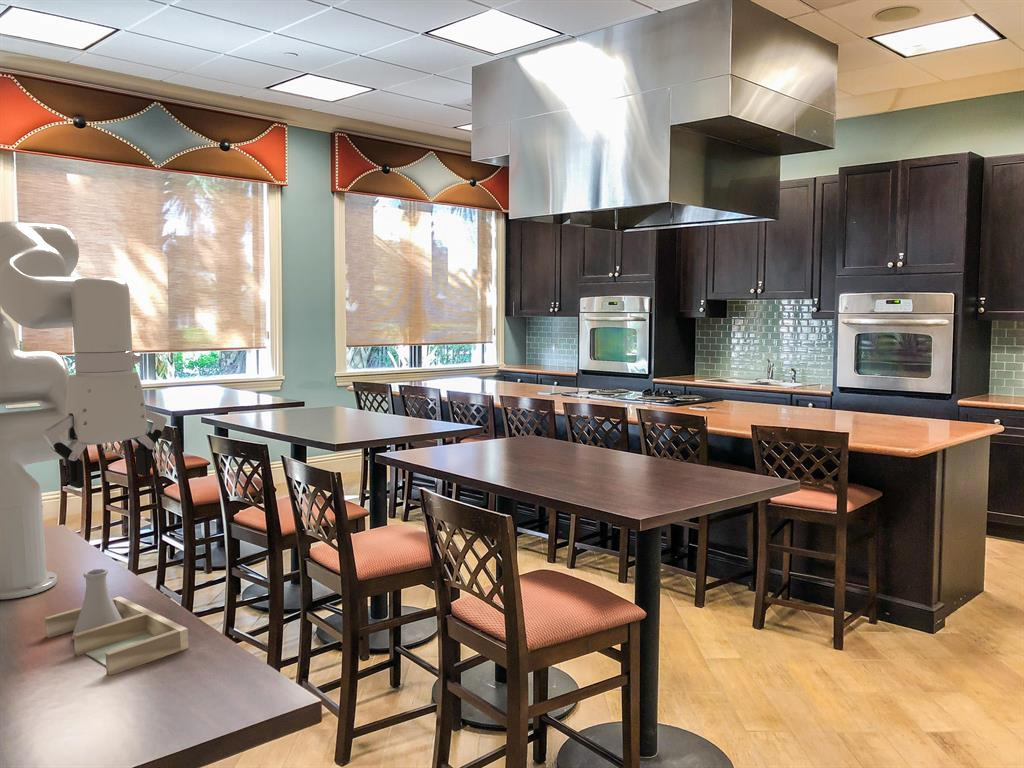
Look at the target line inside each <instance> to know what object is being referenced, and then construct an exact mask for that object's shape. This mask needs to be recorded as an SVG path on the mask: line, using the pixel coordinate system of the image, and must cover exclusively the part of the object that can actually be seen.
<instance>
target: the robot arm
mask: <svg viewBox="0 0 1024 768" xmlns="http://www.w3.org/2000/svg"><path fill="white" fill-rule="evenodd" d="M77 241H78V240H77V239H76V236H75V235H74V234H73V233H72V232H71V231H70V230H69V228H67V227H65V226H62V225H60V224H55V223H45V222H44V223H41V222H23V221H0V308H1V309H2V311H3V312H4V313H5V314H3V313H2V311H0V407H5V406H7V407H8V406H15V405H25V404H28V405H29V404H38V405H39V406H40V408H39V409H29V410H24V409H23V410H17V411H6V412H0V600H10V599H18V598H22V597H29V596H32V595H35V594H39V593H41V592H44V591H46V590H48V589H50V588H52V587H54V586H55V585H56V584H57V581H58V575H57V574H56V573H55V572H53V571H50V570H47V557H46V542H45V527H44V526H45V525H44V524H45V522H44V512H43V511H44V509H43V507H44V506H43V497H42V495H43V494H42V489H41V486H40V483H39V482H38V481H37V480H36V478H34V477H33V476H32V475H31V474H30V473H29V472H27V471H26V469H25V466H27V465H31V464H37V463H43V462H49V461H55V460H56V461H57V460H63V459H64V461H65V478H66V481H67V483H69V486H71V487H73V488H77V489H83V488H84V487H85V479H84V478H85V477H84V461H83V460H82V459H80V456H81V455H82V453H83V452H84V451H85V449H86V448H87V446H93V445H94V446H95V445H102V444H109V443H110V444H111V443H116V442H123V441H133V442H134V443H135V444H136V445H137V447H135V449H134V459H135V460H134V463H135V474H137V475H138V476H143V477H151V474H152V473H151V469H152V468H153V458H152V450H153V449H154V448H155V445H156V443H157V441H158V440H159V439H160V438H161V437H162V435H163V430H164V429H165V426H166V423H167V421H168V420H167V417H166V416H163V415H161V414H158V413H155V412H153V411H151V410H148V409H147V408H146V402H145V396H144V391H143V387H142V383H141V382H142V381H141V380H140V376H139V373H138V371H135V370H134V369H135V365H136V364H141V363H142V360H143V358H142V355H141V354H140V353H135V351H134V350H133V338H132V336H133V334H132V314H131V301H130V300H131V299H130V298H131V297H130V295H131V294H130V288H129V285H128V283H127V282H126V281H125V280H123V279H121V278H116V277H93V276H89V277H88V276H86V277H85V276H84V277H83V276H70V275H71V274H72V273H73V272H74V271H75V269H76V267H77V264H78V262H79V258H80V247H79V243H78V242H77ZM6 315H7V316H8V317H9V318H11V319H12V321H13V322H15V323H17V324H18V325H20V326H21V327H25V328H27V329H34V330H35V329H36V330H38V329H41V330H43V329H45V330H46V329H47V330H48V329H67V328H68V329H69V328H72V333H73V334H72V335H73V350H74V351H73V352H74V367H75V368H74V370H75V374H71V373H70V370H69V368H68V366H67V363H66V362H65V360H64V359H63V357H61V356H60V355H59V354H58V353H56V352H55V351H50V350H26V351H25V350H24V351H23V350H20V348H19V347H18V343H17V340H16V333H15V328H14V325H13V324H12V323H11V321H10V319H9V318H7V317H6ZM147 420H148V421H149V422H152V426H151V427H152V428H151V429H150V430H149V431H148V432H147V430H148V429H147V428H148V423H147Z"/></svg>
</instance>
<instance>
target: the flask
mask: <svg viewBox="0 0 1024 768" xmlns="http://www.w3.org/2000/svg"><path fill="white" fill-rule="evenodd" d="M108 573H109V570H108V569H105V568H93V569H90V570H87V571H85V572H84V573H83V578H85V582H86V583H85V585H86V586H85V587H86V588H85V593H84V599H83V602H82V606H81V607H82V609H81V612H80V615H79V618H78V621H77V624H76V626H75V629H74V631H72V632H73V633H72V636H71V639H72V640H74V635H73V634H76V633H79V632H83V631H86V630H89V629H92V628H96V627H99V626H102V625H106V624H109V623H112V622H115V621H119V620H122V618H121V616H120V614H119V612H118V610H117V608H116V606H115V604H114V602H113V600H112V598H113V597H112V596H111V594H110V591H109V586H108V583H107V582H108V581H107V574H108Z"/></svg>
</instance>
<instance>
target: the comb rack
mask: <svg viewBox="0 0 1024 768" xmlns="http://www.w3.org/2000/svg"><path fill="white" fill-rule="evenodd" d="M111 598H112V600H113V602H114V604H115V606H116V608H117V610H118V612H119V614H120V616H121V618H122V620H119V621H115V622H112V623H109V624H106V625H102V626H99V627H96V628H92V629H89V630H86V631H83V632H79V633H76V634H73V633H72V635H74V639H73V646H74V647H73V648H74V655H75V656H78V657H79V656H81V655H87V656H88V657H90V658H92V660H95V661H96V662H98V663H99V664H102V665H103V666H104V667H106V668H105V669H106V675H108V676H110V677H111V676H113V675H116V674H119V673H122V672H124V671H128V670H131V669H133V668H136V667H138V666H139V667H140V666H142V665H144V664H147V663H150V662H153V661H155V660H158V659H161V658H165V657H166V656H169V655H172V654H173V655H174V654H175V653H179V652H182V651H185V650H187V649H189V647H190V646H189V628H187V627H185V626H183V625H181V624H179V623H177V622H175V621H173V620H172V619H171V620H170V619H169V618H166V617H165V616H163V615H160V614H159V613H156V612H154V611H152V610H150V609H149V608H146V607H144V606H141V605H139V604H138V603H135V602H133V601H132V600H129V599H127V598H125V597H123V596H121V595H120V596H117V597H111ZM81 609H82V606H81V607H77V608H74V609H70V610H67V611H64V612H63V611H62V612H59V613H56V614H53V615H49V616H45V617H44V627H45V637H46V638H48V639H51V638H53V637H57V636H60V635H63V634H68V633H70V632H74V629H75V626H76V624H77V621H78V618H79V615H80V612H81Z"/></svg>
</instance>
